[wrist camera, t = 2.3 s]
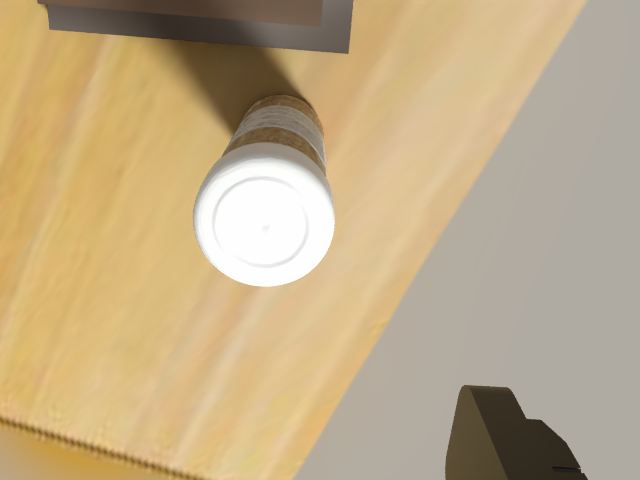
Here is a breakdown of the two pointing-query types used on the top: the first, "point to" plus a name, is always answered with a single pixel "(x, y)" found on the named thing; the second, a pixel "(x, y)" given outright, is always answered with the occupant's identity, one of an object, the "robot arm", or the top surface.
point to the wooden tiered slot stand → (213, 21)
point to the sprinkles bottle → (268, 197)
